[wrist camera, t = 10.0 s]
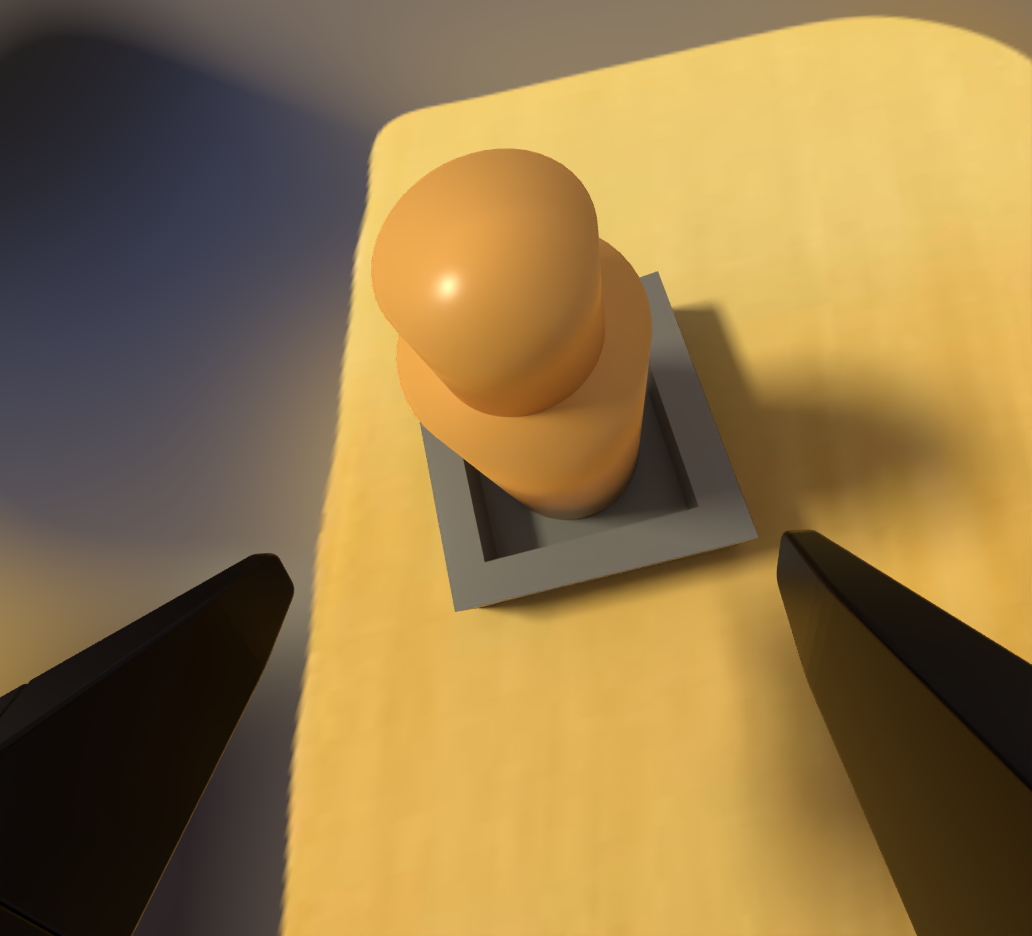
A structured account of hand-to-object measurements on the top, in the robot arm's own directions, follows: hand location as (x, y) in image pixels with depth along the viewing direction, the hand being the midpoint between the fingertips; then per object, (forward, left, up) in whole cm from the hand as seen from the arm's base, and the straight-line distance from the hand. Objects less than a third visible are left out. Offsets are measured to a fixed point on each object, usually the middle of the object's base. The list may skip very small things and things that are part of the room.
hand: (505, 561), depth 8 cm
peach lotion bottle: (+5, -1, -11) cm, 12 cm away
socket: (+5, -1, -12) cm, 13 cm away
